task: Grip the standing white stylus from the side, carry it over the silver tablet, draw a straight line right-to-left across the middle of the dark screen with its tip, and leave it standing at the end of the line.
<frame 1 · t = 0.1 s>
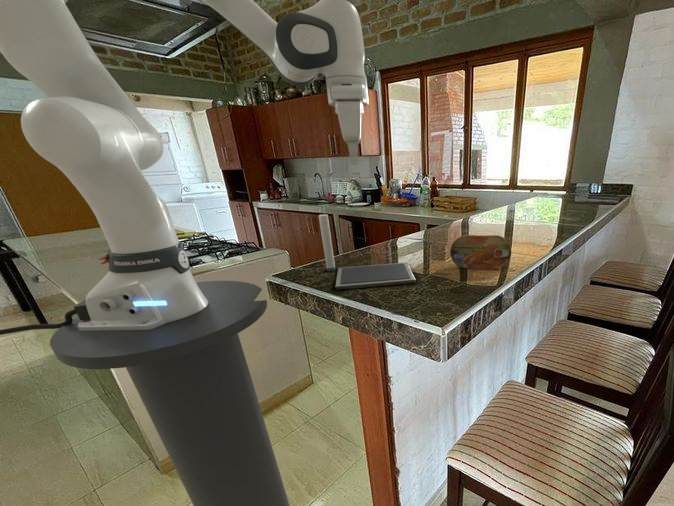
hand: (354, 164, 80), 25 cm above the countertop, tool pointing down, fingers open, 8 cm apart
stylus: (331, 269, 88), on the countertop
tin: (479, 268, 86), on the countertop
tablet: (374, 276, 82), on the countertop
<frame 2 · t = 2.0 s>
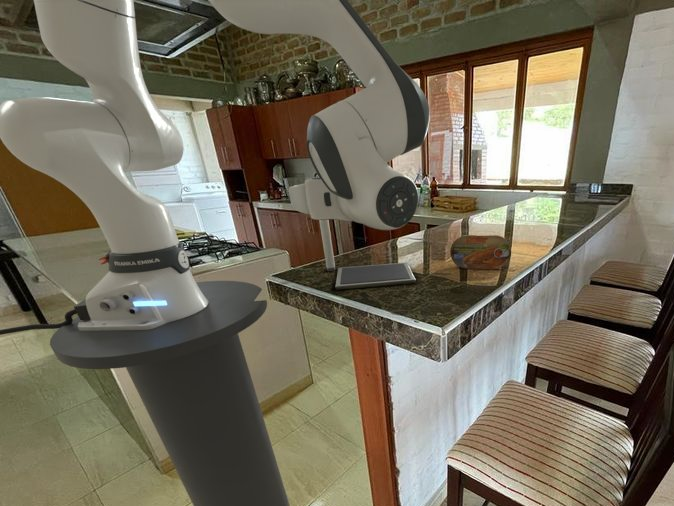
hand: (334, 191, 70), 20 cm above the countertop, tool horizontal, fingers open, 8 cm apart
nothing on the countertop moved.
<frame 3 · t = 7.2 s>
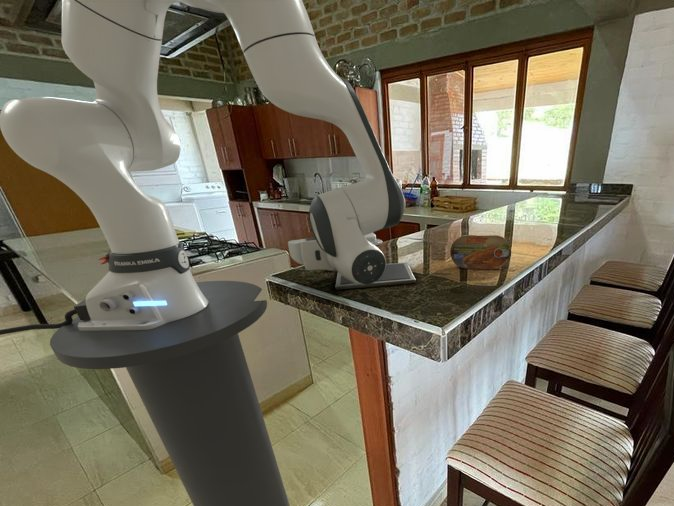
hand: (325, 238, 85), 8 cm above the countertop, tool horizontal, fingers closed on stylus, 2 cm apart
stylus: (331, 269, 88), on the countertop, touching gripper
everything else where it was.
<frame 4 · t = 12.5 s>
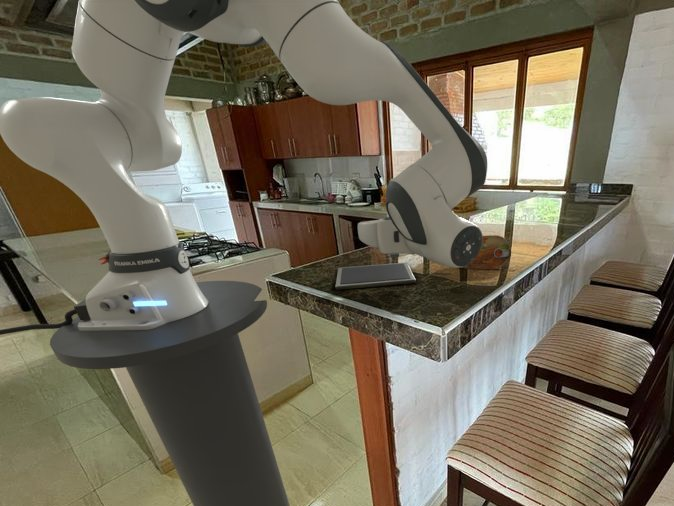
hand: (390, 222, 78), 13 cm above the countertop, tool horizontal, fingers closed on stylus, 2 cm apart
stylus: (394, 256, 80), point 5 cm above the countertop, touching gripper
everything else where it was.
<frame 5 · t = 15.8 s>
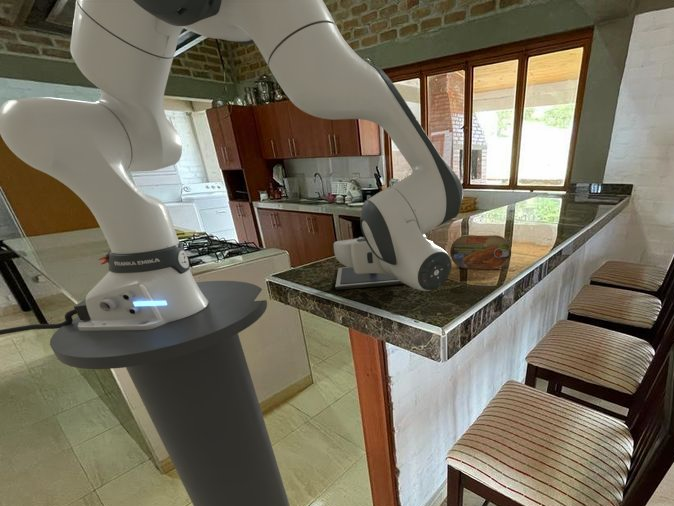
hand: (368, 239, 79), 9 cm above the countertop, tool horizontal, fingers closed on stylus, 2 cm apart
stylus: (373, 272, 81), point 1 cm above the countertop, touching gripper
everything else where it was.
when the fingers open (9 cm above the countertop, at t = 18.0 s): stylus stays where it is, resting on tablet.
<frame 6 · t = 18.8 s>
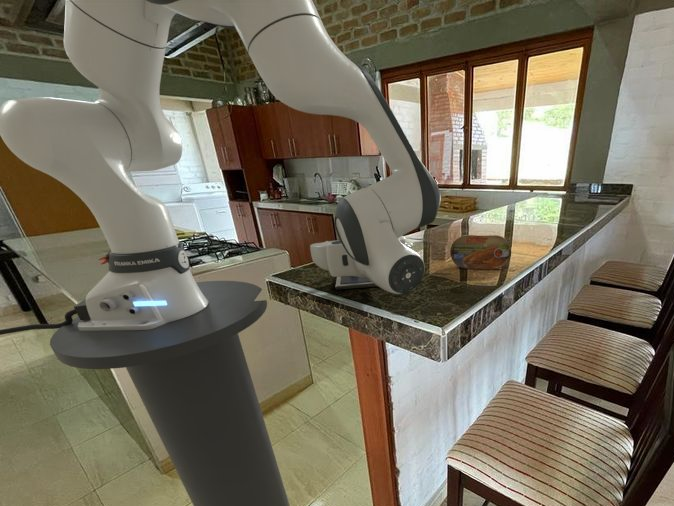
hand: (348, 241, 78), 9 cm above the countertop, tool horizontal, fingers open, 8 cm apart
stylus: (354, 274, 81), point 1 cm above the countertop, touching tablet
everything else where it was.
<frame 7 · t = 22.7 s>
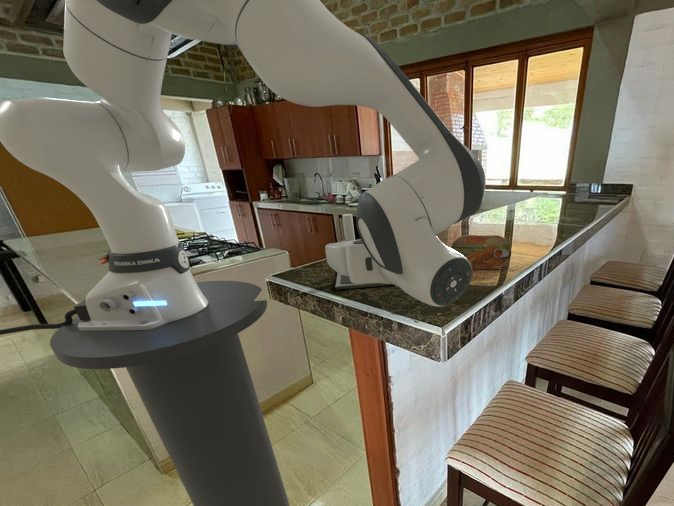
hand: (368, 241, 67), 11 cm above the countertop, tool horizontal, fingers open, 8 cm apart
nothing on the countertop moved.
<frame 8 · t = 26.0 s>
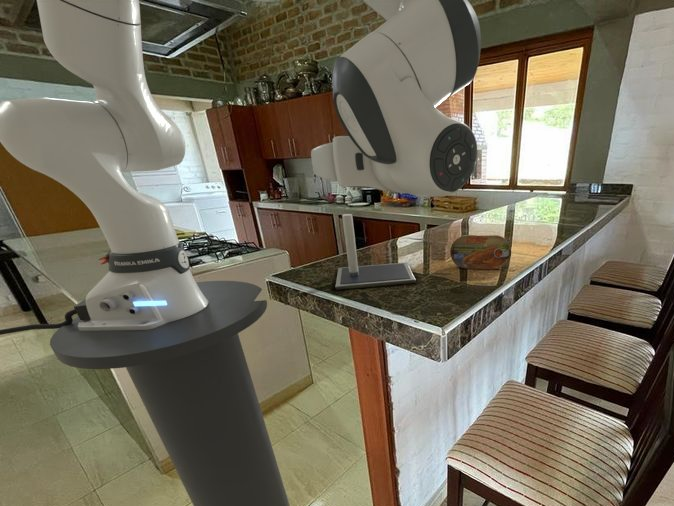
hand: (360, 160, 60), 26 cm above the countertop, tool horizontal, fingers open, 8 cm apart
nothing on the countertop moved.
at the end: stylus 0.1 cm from the target spot on the tablet, point 1.0 cm above the tablet's base; stylus tilted 0°; the gripper is holding nothing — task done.
